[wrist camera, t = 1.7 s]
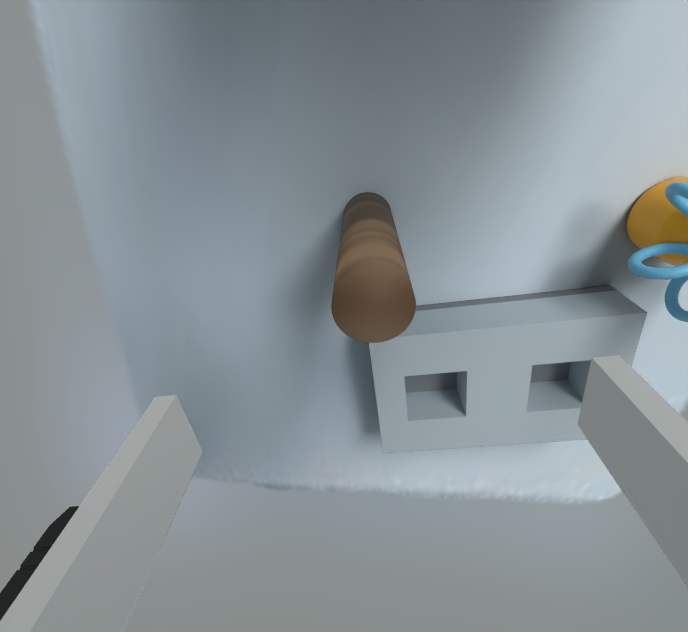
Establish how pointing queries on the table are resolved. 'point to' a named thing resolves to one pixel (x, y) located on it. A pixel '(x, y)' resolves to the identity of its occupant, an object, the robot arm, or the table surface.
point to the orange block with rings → (662, 237)
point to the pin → (371, 274)
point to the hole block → (498, 368)
